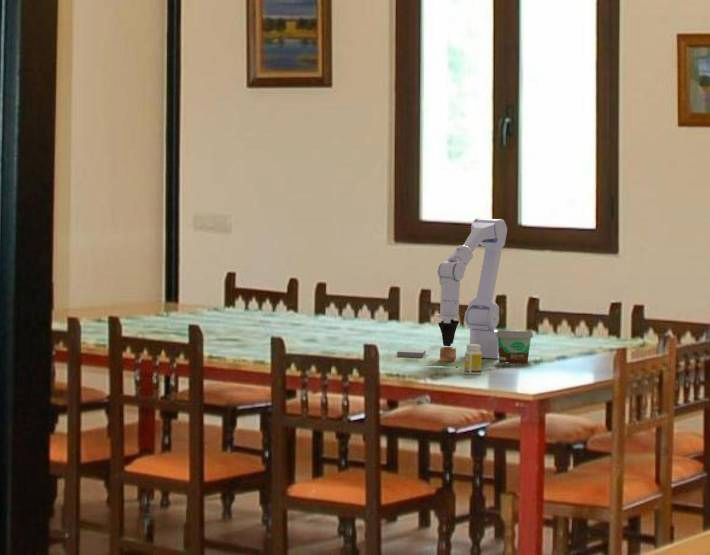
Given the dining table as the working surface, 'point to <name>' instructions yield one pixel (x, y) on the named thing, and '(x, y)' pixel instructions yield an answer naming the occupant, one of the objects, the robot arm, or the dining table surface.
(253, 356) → the dining table surface
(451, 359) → the terracotta cube
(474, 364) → the supplement bottle
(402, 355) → the slate top slab
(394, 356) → the walnut base slab
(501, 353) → the food container
